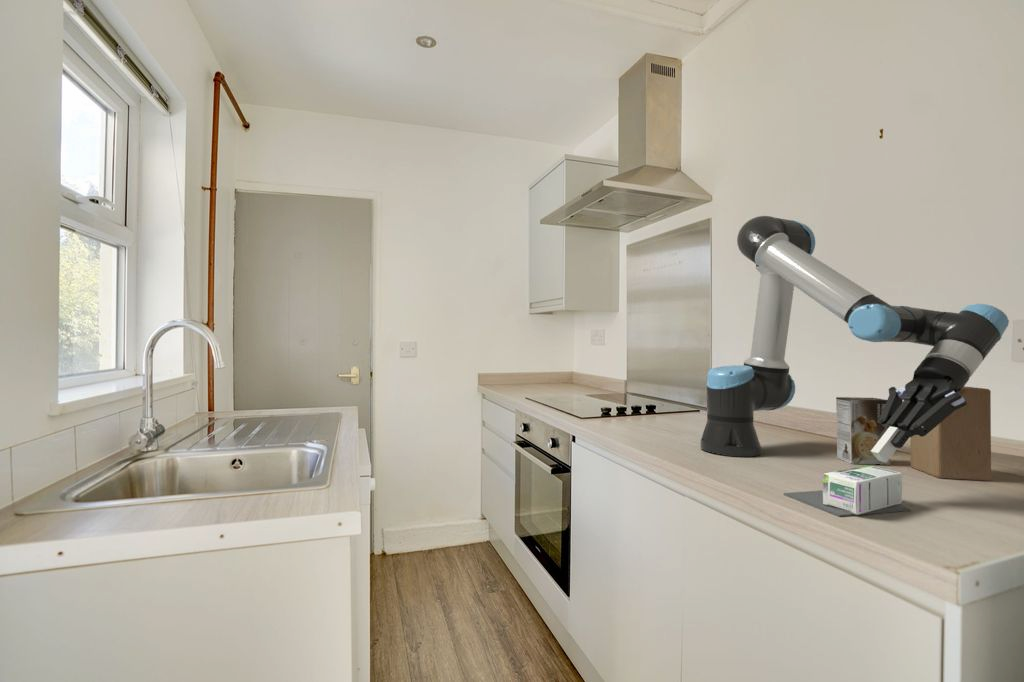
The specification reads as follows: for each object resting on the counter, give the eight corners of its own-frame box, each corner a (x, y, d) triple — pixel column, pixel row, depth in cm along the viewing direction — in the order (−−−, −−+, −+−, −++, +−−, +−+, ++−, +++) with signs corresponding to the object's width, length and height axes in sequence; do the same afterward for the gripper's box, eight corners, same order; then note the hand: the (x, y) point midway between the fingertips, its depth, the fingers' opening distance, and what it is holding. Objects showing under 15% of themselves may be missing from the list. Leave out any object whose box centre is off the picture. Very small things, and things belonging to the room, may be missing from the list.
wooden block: (992, 481, 100) (991, 389, 100) (938, 478, 102) (938, 387, 102) (958, 469, 110) (957, 385, 110) (909, 467, 112) (909, 384, 112)
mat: (846, 490, 93) (846, 488, 93) (909, 510, 81) (909, 509, 81) (783, 494, 90) (783, 493, 90) (839, 516, 78) (839, 515, 78)
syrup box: (903, 472, 84) (857, 480, 78) (903, 504, 84) (856, 515, 78) (868, 464, 90) (822, 471, 83) (867, 495, 89) (821, 504, 83)
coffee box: (873, 459, 120) (873, 397, 120) (891, 465, 113) (891, 400, 113) (835, 458, 121) (835, 396, 121) (851, 464, 114) (850, 399, 114)
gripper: (997, 384, 86) (927, 479, 82) (921, 379, 98) (857, 461, 94) (975, 355, 84) (903, 451, 81) (901, 354, 97) (835, 436, 93)
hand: (878, 456), depth 88 cm, fingers closed
